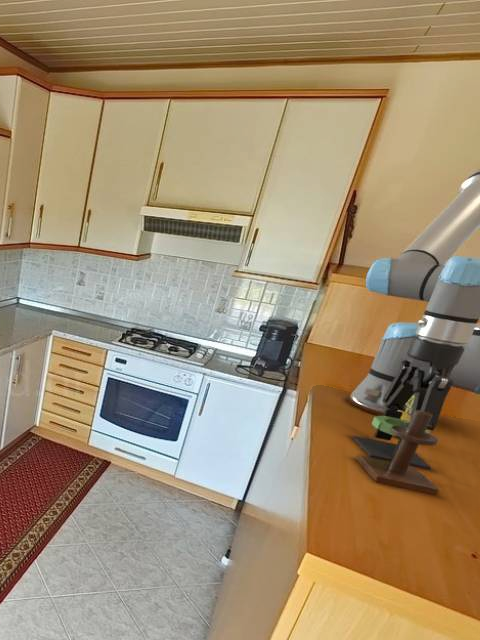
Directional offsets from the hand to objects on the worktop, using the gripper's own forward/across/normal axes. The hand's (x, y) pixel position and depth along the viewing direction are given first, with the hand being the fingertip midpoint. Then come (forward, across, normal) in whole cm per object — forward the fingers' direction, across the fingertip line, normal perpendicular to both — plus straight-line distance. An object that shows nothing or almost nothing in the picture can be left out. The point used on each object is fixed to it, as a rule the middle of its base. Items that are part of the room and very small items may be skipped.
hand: (391, 447), depth 100 cm
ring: (-4, 0, 0) cm, 4 cm away
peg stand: (+1, +13, -4) cm, 14 cm away
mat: (+1, 0, 0) cm, 1 cm away
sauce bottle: (+1, -13, +8) cm, 15 cm away
